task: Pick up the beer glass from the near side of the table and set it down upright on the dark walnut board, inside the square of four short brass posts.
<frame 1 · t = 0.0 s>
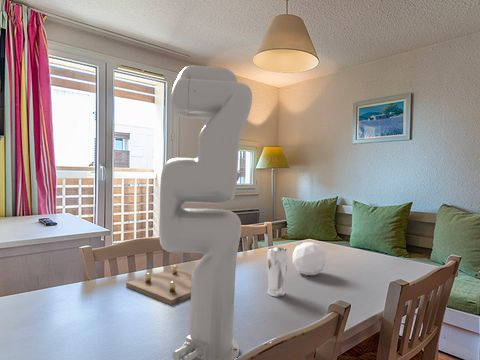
hand: (215, 195, 113), 31 cm above the table, tool pointing down, fingers open, 9 cm apart
geodesic sphere: (308, 274, 127), on the table
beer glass: (275, 293, 105), on the table
walnut board: (173, 286, 108), on the table
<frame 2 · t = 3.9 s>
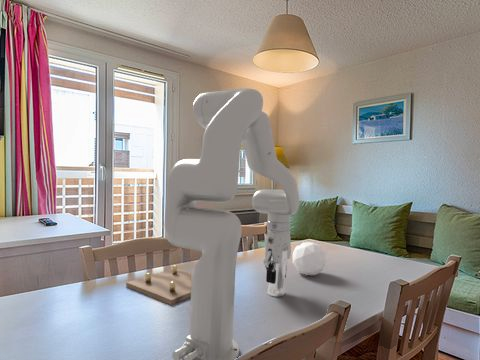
hand: (276, 279, 105), 5 cm above the table, tool pointing down, fingers closed on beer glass, 6 cm apart
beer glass: (275, 293, 105), on the table, touching gripper
everything else where it was.
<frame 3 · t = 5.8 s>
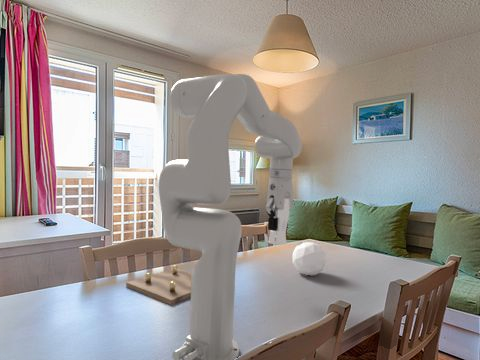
hand: (278, 228, 104), 22 cm above the table, tool pointing down, fingers closed on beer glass, 6 cm apart
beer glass: (277, 243, 104), point 17 cm above the table, touching gripper
everything else where it was.
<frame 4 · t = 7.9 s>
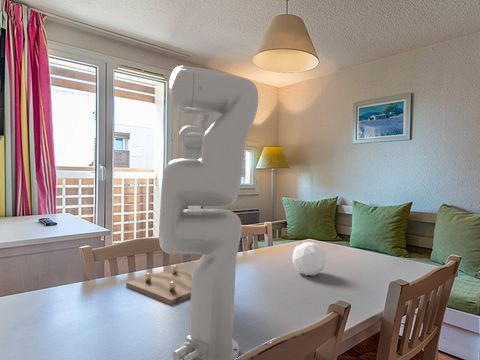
hand: (191, 218, 107), 24 cm above the table, tool pointing down, fingers closed on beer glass, 6 cm apart
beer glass: (190, 232, 107), point 19 cm above the table, touching gripper
everything else where it was.
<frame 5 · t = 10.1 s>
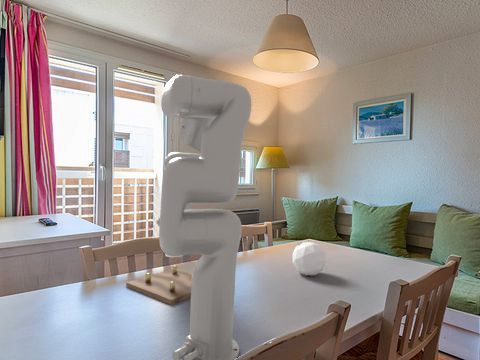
hand: (175, 241, 107), 15 cm above the table, tool pointing down, fingers closed on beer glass, 6 cm apart
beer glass: (174, 255, 108), point 10 cm above the table, touching gripper
everything else where it was.
when the fingers open (8 cm above the table, at t = 12.1 s): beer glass drops 1 cm, resting on walnut board.
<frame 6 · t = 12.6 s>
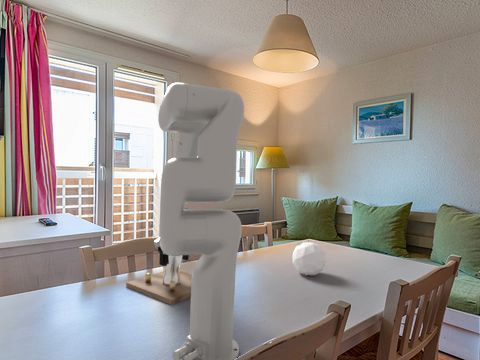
hand: (174, 262, 107), 8 cm above the table, tool pointing down, fingers open, 9 cm apart
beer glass: (171, 283, 107), point 1 cm above the table, touching gripper, walnut board
everything else where it was.
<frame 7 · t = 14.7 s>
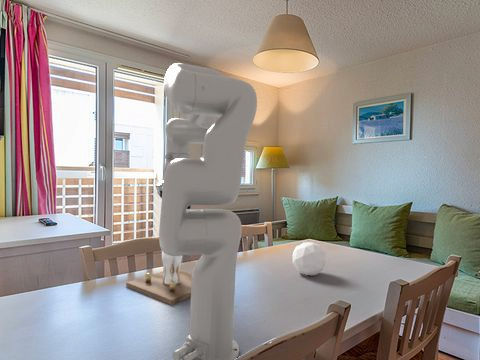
hand: (176, 209, 107), 26 cm above the table, tool pointing down, fingers open, 9 cm apart
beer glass: (171, 283, 107), point 1 cm above the table, touching walnut board
everything else where it was.
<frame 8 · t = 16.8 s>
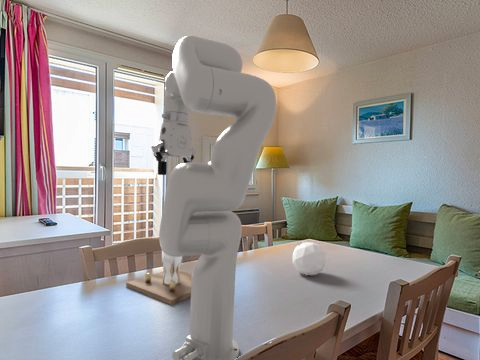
hand: (174, 175, 98), 38 cm above the table, tool pointing down, fingers open, 9 cm apart
nothing on the table moved.
at the end: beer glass 1.2 cm off-centre on the walnut board, point 1.3 cm above the walnut board's base; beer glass tilted 0°; the gripper is holding nothing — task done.
